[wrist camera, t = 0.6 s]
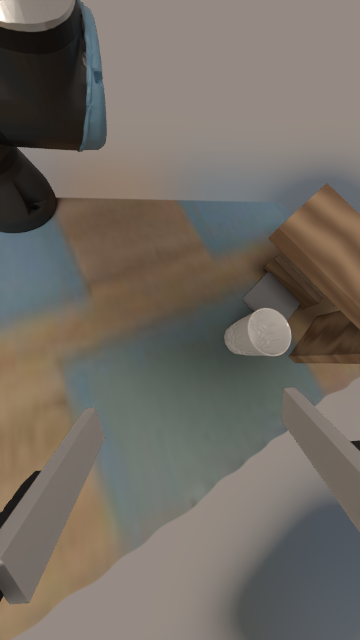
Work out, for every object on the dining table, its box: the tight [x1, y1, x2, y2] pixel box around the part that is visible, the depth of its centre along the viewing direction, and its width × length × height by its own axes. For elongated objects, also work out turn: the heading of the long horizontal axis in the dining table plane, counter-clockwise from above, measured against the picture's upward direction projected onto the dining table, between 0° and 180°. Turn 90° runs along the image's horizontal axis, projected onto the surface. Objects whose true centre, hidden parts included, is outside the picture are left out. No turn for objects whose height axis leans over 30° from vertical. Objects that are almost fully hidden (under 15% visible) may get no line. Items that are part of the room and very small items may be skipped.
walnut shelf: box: [264, 184, 360, 364], centre depth 32 cm, size 14×24×18 cm, turn 44°
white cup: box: [224, 308, 291, 356], centre depth 32 cm, size 8×8×10 cm
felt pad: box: [241, 272, 301, 320], centre depth 41 cm, size 11×11×1 cm
